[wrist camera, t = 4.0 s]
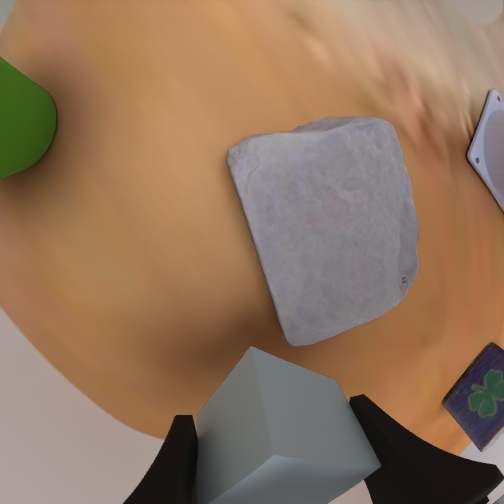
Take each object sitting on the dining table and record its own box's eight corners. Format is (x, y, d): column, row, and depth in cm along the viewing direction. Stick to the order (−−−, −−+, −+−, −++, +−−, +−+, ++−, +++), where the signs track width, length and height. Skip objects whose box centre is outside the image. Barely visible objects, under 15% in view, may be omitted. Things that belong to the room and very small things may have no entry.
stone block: (351, 110, 17) (205, 152, 15) (404, 99, 12) (225, 142, 10) (386, 269, 21) (271, 332, 19) (432, 290, 16) (304, 374, 14)
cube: (336, 379, 12) (381, 465, 7) (278, 437, 13) (299, 519, 8) (250, 345, 11) (274, 454, 6) (197, 414, 12) (197, 509, 7)
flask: (445, 406, 25) (491, 464, 15) (436, 401, 24) (486, 464, 14) (495, 345, 23) (552, 393, 13) (490, 336, 23) (551, 387, 12)
